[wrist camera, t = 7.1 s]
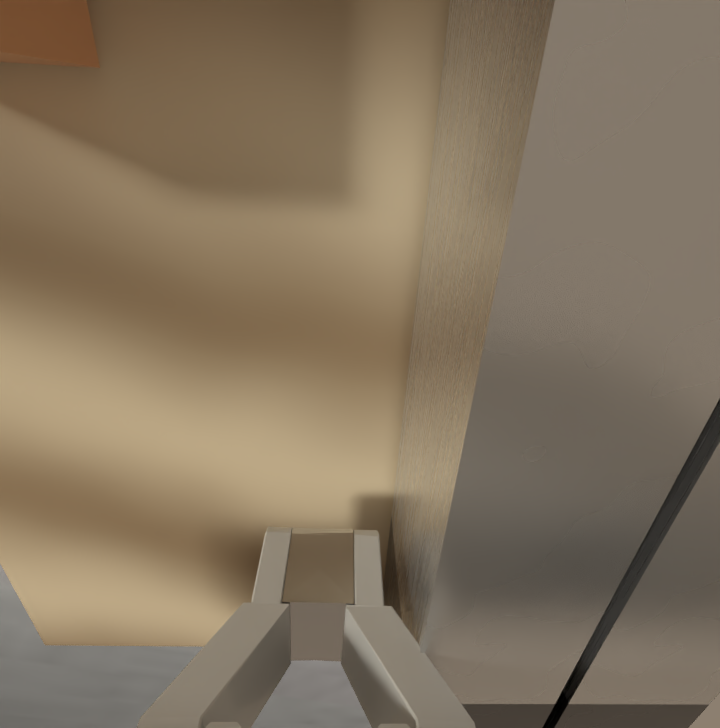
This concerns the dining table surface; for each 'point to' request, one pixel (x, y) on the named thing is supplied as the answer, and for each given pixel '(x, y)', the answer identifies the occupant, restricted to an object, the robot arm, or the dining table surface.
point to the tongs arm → (554, 331)
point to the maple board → (205, 299)
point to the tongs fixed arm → (659, 615)
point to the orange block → (47, 33)
